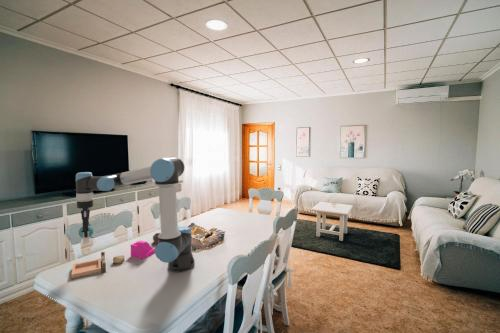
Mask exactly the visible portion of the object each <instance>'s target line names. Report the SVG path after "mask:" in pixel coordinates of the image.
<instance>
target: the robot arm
mask: <svg viewBox="0 0 500 333" xmlns="http://www.w3.org/2000/svg"><path fill="white" fill-rule="evenodd" d="M184 171H185V163H184V162H183V161H182V159H181V158H179V157H176V156H171V157H161V158H158V159H156V160H155V161H153V163H152V164H151V166H145V167H141V168H137V169H133V170H128V171H125V172H124V171H123V172H120V173H119V172H118V173H115V174H108V175H103V176H101V175H100V176H93V173H92V172H90V171H84V172H83V171H82V172H77V173H76V174H75V190H76V192H75V194H76V195H75V196H76V208H77V209H79V210H80V209H82V210H80V216H81V220H82V227H83V231H81V232H83V238H82V242H83V244H89V243H90V238H91V236H90V237H89V230H88V226H91V224H90V212H91V210H90V208H92V207H94V200H93V199H94V196H95V193H94V191H99V192H100V191H102V192H105V191H111V190H112V189H114V188H118V187H122V186H127V185H131V184H136V183H139V182H145V181H149V180H154V185H155V186H156V187H157V188H158V201H159V203H158V204H159V220H160V221H159V222H160V223H159V224H160V232H159V233H160V234H159V235H158V244H157V245H156V246H155V248H154V249H155V253H154V255H155V257H156V258H157V259H158V260H159V261H160V262H162V263H164V264H165V263H166V264H167V268H168V270H169V271H171V272H176V273H179V272H182V273H183V272H186V271H188V270H191V269H192V268H193V267H194V266H195V258H194V255H193V252H192V235H193V234H192V229H191V227H189V226H179V225H178V223H179V222H178V202H177V185H178V184H179V177H181V176H182V175H183V173H184Z"/></svg>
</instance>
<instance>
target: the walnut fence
mask: <svg viewBox="0 0 500 333" xmlns="http://www.w3.org/2000/svg"><path fill="white" fill-rule="evenodd" d="M105 252H106V251H101V253H100V256H101V258H100V259H101V273H103V274H105V273H107V267H106V266H107V264H106V263H107V262H105V261H106V258H105V257H106V254H105Z"/></svg>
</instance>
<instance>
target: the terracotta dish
mask: <svg viewBox="0 0 500 333" xmlns="http://www.w3.org/2000/svg"><path fill="white" fill-rule="evenodd" d="M100 273H102V261H101V258H98V259H93V260H89V261H84V262H83V261H82V262H78V263H73V264H72V270H71V280H74V279H79V278H84V277H88V276H92V275H97V274H100Z"/></svg>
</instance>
